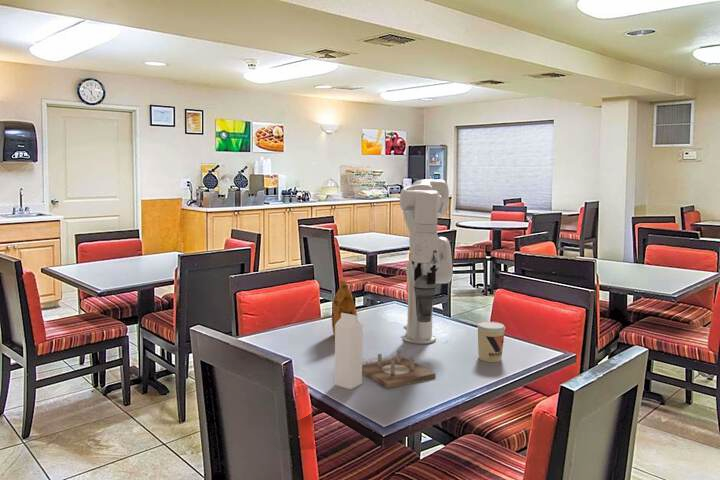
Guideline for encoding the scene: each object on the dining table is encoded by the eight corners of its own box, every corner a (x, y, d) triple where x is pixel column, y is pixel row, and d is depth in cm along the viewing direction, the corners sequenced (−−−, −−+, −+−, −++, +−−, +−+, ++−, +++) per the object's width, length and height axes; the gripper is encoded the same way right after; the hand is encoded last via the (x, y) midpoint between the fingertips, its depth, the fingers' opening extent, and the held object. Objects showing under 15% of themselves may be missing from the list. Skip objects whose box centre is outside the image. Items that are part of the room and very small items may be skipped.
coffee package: (332, 343, 214) (332, 285, 211) (331, 333, 226) (331, 279, 224) (359, 342, 215) (359, 285, 212) (356, 333, 227) (356, 278, 224)
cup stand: (357, 370, 185) (357, 352, 185) (402, 361, 195) (402, 344, 194) (387, 388, 170) (388, 369, 169) (435, 377, 179) (435, 359, 179)
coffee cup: (488, 364, 192) (489, 330, 190) (470, 356, 200) (471, 323, 198) (509, 360, 196) (511, 326, 194) (491, 352, 204) (492, 320, 203)
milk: (346, 379, 178) (347, 310, 175) (362, 384, 174) (363, 313, 171) (334, 385, 173) (334, 314, 170) (350, 390, 169) (350, 317, 166)
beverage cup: (434, 324, 188) (435, 264, 186) (412, 322, 189) (413, 263, 187) (435, 318, 195) (436, 260, 193) (414, 317, 196) (415, 260, 194)
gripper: (401, 227, 194) (400, 279, 196) (433, 231, 179) (432, 287, 181) (418, 226, 198) (417, 277, 200) (451, 230, 183) (450, 285, 185)
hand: (424, 281), depth 191 cm, fingers closed on beverage cup, 6 cm apart
